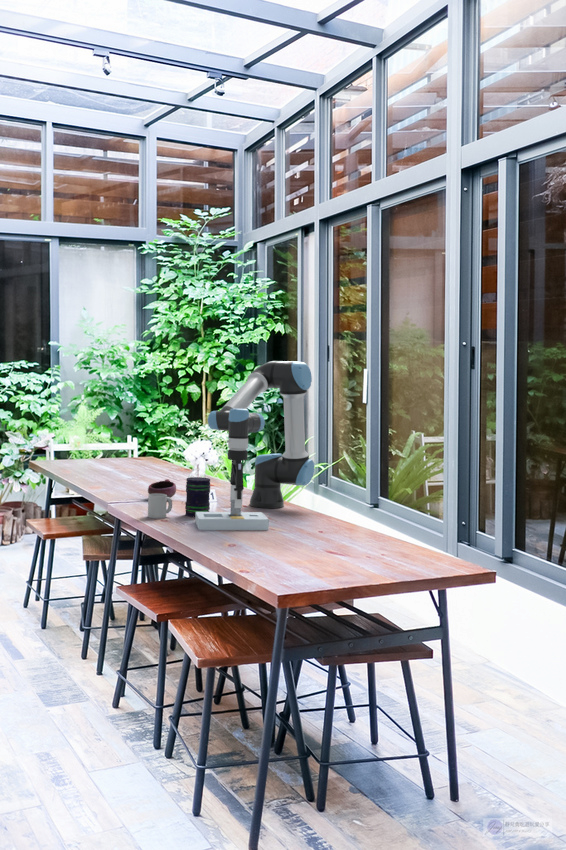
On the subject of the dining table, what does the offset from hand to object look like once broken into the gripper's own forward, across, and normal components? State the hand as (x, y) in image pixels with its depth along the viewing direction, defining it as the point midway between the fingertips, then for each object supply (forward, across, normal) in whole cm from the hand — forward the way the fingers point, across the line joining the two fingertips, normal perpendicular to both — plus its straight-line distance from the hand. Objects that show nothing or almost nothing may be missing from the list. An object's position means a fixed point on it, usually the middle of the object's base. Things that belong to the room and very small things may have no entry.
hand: (235, 504), depth 308 cm
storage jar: (+8, -23, -13) cm, 27 cm away
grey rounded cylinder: (+8, 0, 0) cm, 8 cm away
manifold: (+8, 0, -2) cm, 8 cm away
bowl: (+8, -66, -26) cm, 71 cm away
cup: (+8, -19, -28) cm, 34 cm away
